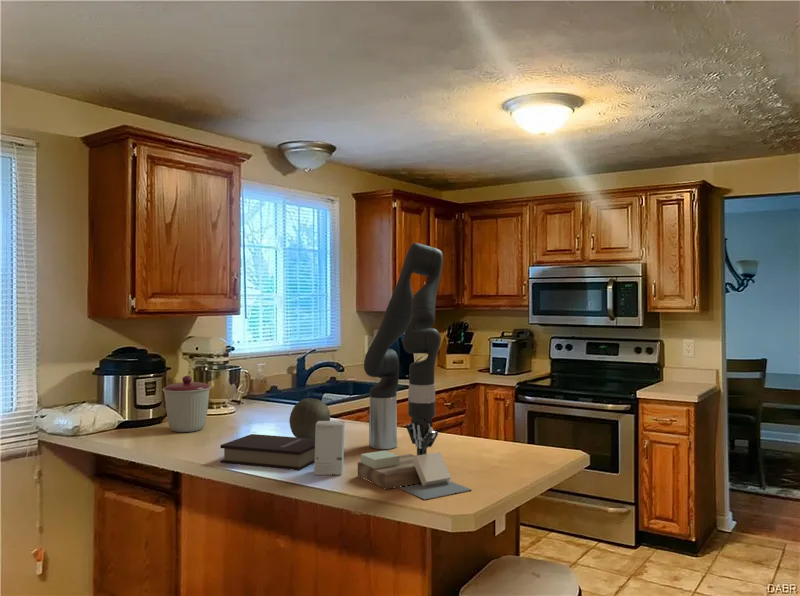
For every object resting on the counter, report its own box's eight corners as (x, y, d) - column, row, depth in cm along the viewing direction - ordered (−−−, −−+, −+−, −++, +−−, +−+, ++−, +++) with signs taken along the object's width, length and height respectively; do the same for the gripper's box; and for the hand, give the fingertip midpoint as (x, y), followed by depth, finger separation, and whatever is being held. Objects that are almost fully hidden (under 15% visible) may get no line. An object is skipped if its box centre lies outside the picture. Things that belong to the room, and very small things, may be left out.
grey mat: (399, 488, 178) (399, 487, 178) (445, 480, 186) (444, 479, 186) (424, 500, 168) (424, 499, 168) (471, 490, 175) (471, 489, 175)
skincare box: (314, 475, 192) (313, 424, 191) (316, 470, 198) (316, 420, 197) (343, 475, 191) (342, 423, 191) (345, 469, 197) (344, 419, 197)
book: (329, 456, 216) (329, 438, 216) (299, 471, 197) (299, 451, 197) (255, 450, 225) (255, 432, 225) (220, 464, 207) (220, 445, 207)
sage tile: (360, 462, 190) (360, 454, 190) (384, 458, 194) (384, 450, 194) (374, 468, 183) (374, 459, 183) (399, 464, 187) (399, 455, 187)
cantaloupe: (303, 446, 228) (302, 403, 228) (282, 440, 239) (282, 398, 239) (337, 440, 237) (337, 398, 237) (316, 434, 248) (315, 394, 248)
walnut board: (357, 476, 190) (357, 462, 190) (410, 467, 200) (410, 453, 200) (386, 489, 177) (386, 474, 177) (441, 479, 186) (441, 465, 186)
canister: (198, 435, 248) (198, 379, 248) (153, 434, 251) (153, 378, 251) (219, 425, 266) (218, 373, 266) (177, 424, 269) (176, 372, 269)
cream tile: (412, 460, 183) (415, 455, 182) (436, 456, 187) (439, 451, 186) (423, 486, 179) (426, 481, 177) (447, 481, 183) (451, 477, 181)
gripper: (397, 397, 190) (398, 457, 190) (423, 404, 178) (423, 468, 179) (419, 394, 194) (419, 453, 194) (446, 401, 182) (446, 464, 183)
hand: (421, 460), depth 186 cm, fingers closed
